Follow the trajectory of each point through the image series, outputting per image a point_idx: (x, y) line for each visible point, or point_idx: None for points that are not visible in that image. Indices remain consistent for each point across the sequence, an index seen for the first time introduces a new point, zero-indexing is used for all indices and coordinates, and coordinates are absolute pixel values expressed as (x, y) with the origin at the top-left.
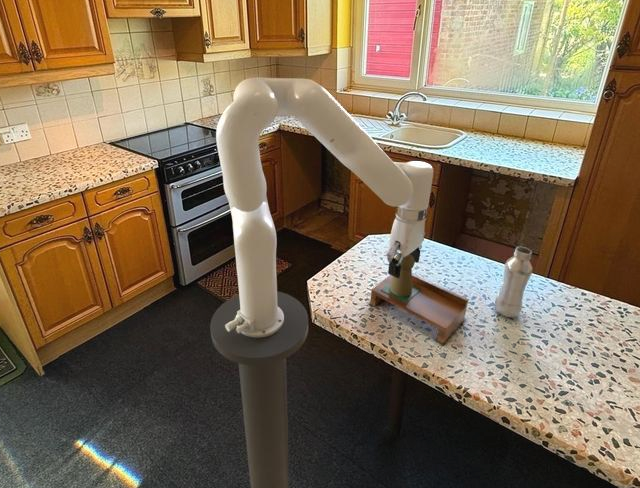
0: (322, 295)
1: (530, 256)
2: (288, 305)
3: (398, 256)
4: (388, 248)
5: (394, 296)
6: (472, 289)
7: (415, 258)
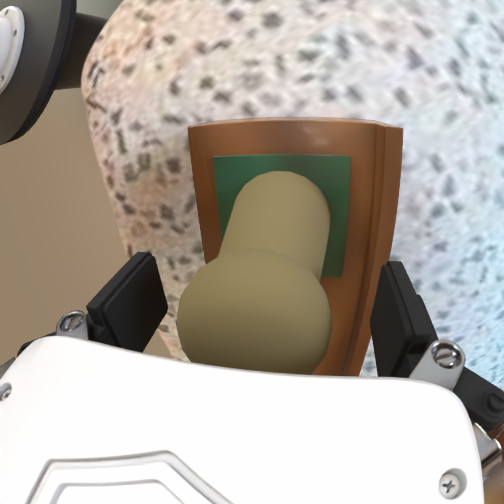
0: (132, 6)
1: None
2: (40, 27)
3: (199, 322)
4: (22, 352)
5: (221, 224)
6: (473, 315)
7: (377, 329)
